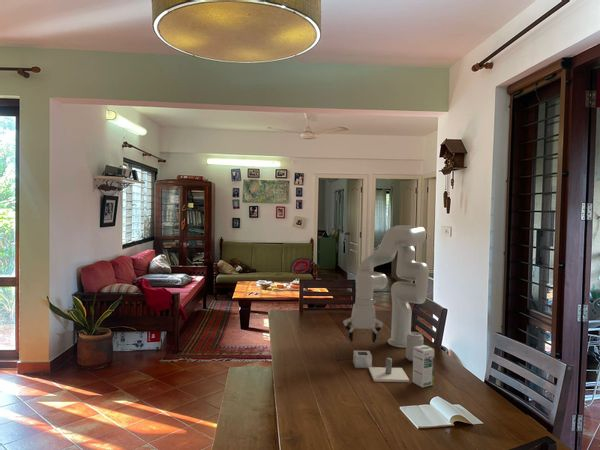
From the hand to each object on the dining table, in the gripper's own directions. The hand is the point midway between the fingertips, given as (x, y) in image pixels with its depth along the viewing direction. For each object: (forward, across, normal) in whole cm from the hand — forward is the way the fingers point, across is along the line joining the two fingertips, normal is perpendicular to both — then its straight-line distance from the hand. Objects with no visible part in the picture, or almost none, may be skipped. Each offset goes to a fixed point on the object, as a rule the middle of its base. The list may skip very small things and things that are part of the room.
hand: (362, 341), depth 180 cm
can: (+10, -26, -9) cm, 29 cm away
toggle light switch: (+11, -10, +10) cm, 18 cm away
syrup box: (+11, -22, +17) cm, 30 cm away
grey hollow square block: (+11, -1, -1) cm, 11 cm away
